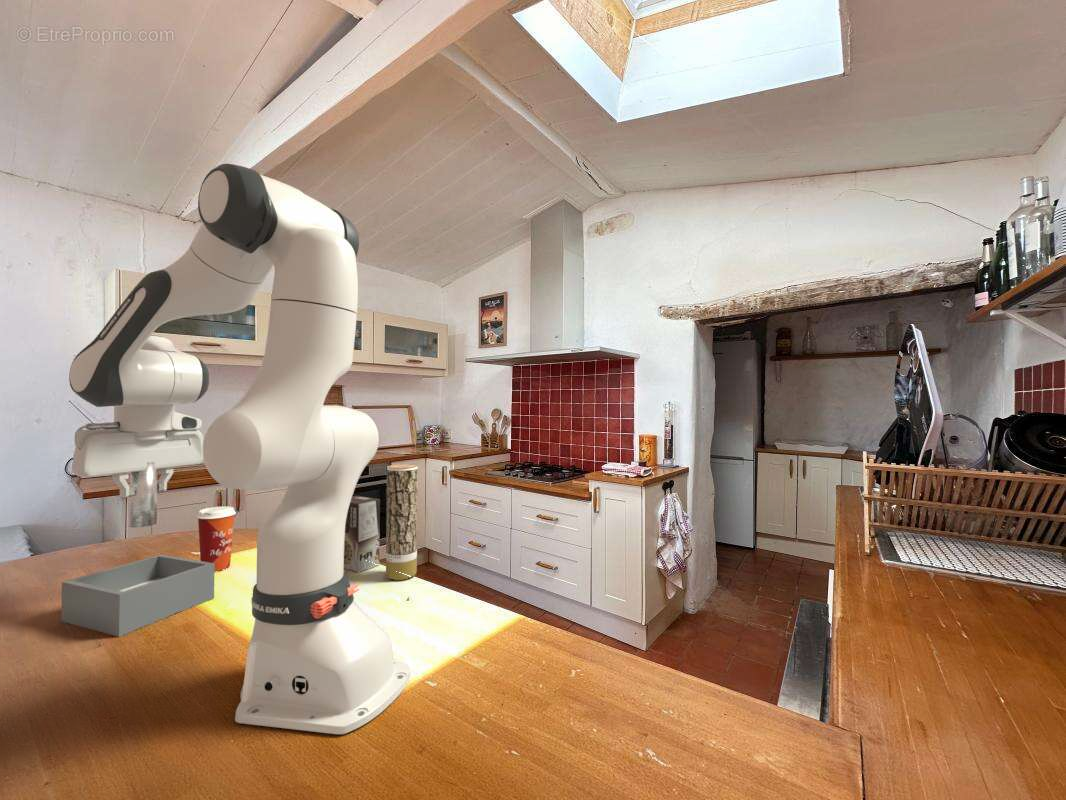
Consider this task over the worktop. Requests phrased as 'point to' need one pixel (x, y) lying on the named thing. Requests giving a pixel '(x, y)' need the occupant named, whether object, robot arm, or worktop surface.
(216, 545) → the paper cup
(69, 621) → the box
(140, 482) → the peg
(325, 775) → the worktop surface
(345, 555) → the coffee box
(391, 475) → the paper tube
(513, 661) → the worktop surface
